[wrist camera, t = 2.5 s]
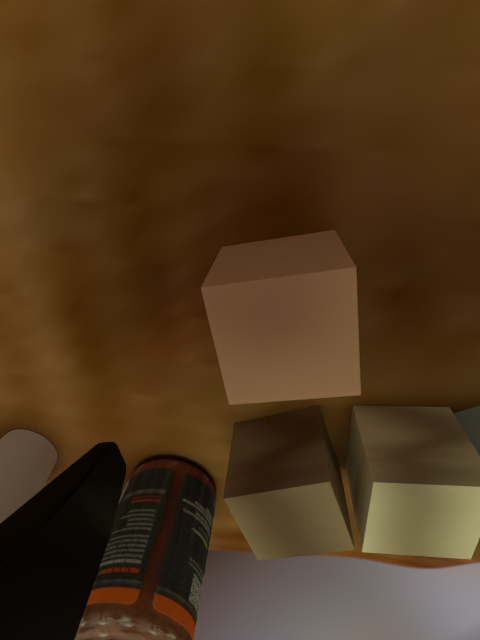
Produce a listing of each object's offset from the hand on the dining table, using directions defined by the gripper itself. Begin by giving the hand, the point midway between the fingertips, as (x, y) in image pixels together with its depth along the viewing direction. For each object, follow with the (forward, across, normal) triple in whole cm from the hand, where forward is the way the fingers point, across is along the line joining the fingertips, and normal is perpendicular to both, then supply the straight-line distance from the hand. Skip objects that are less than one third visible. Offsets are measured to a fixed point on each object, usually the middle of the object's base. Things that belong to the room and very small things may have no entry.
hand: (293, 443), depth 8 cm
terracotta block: (+10, 0, 0) cm, 10 cm away
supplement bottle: (+10, +9, +13) cm, 19 cm away
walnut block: (+10, +1, +10) cm, 14 cm away
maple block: (+10, -5, +10) cm, 15 cm away
